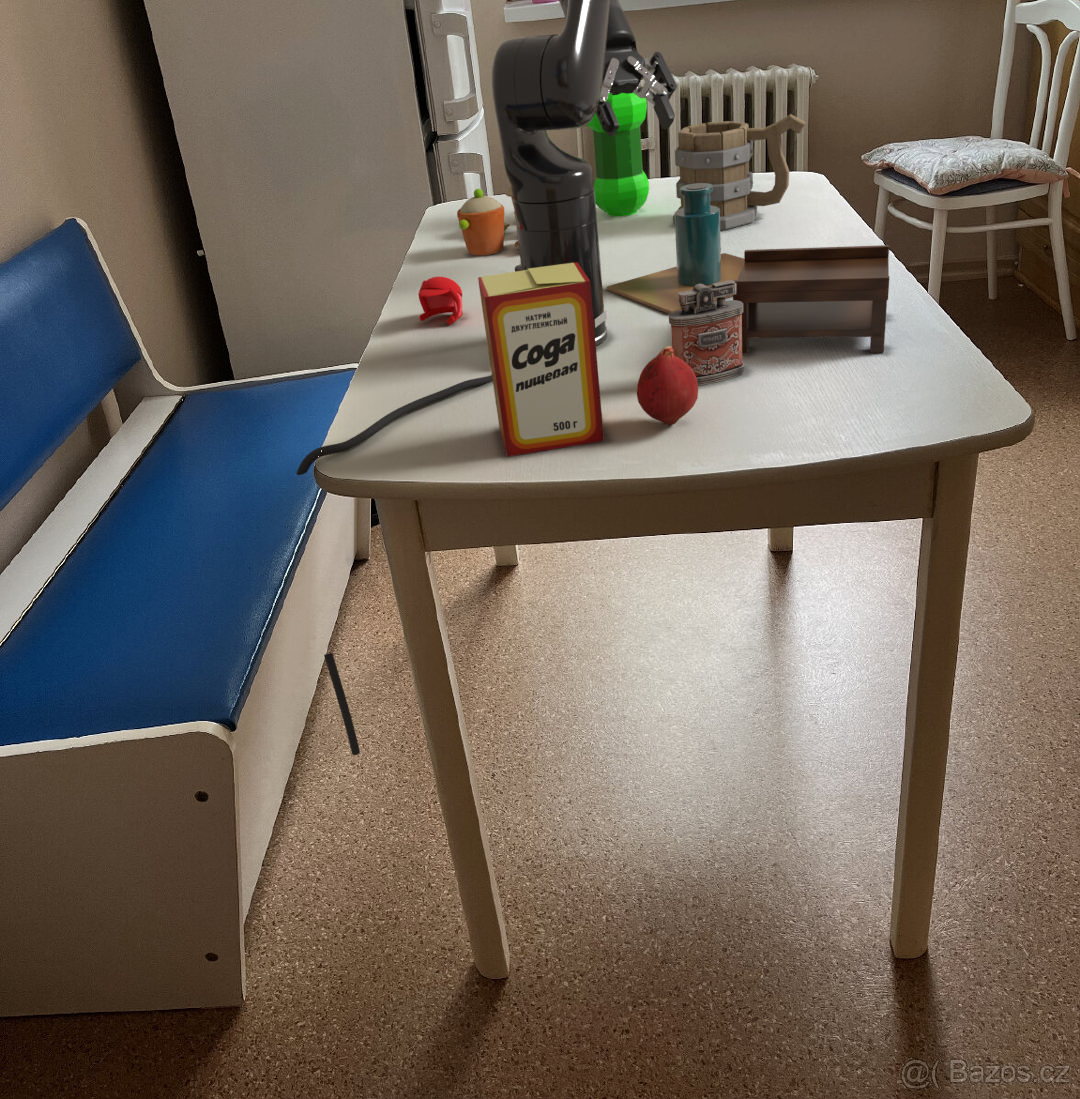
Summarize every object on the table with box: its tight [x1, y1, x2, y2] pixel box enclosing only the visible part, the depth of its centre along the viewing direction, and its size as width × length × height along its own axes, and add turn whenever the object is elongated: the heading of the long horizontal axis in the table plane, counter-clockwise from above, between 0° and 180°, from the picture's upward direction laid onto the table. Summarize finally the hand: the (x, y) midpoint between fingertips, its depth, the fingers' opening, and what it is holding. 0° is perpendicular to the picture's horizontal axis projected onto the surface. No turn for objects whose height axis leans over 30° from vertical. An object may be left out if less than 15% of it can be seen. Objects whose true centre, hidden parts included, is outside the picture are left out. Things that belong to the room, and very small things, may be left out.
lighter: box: [668, 280, 745, 387], centre depth 107 cm, size 8×3×10 cm, turn 106°
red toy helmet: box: [417, 276, 464, 326], centre depth 135 cm, size 8×6×6 cm
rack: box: [732, 244, 890, 354], centre depth 115 cm, size 16×12×8 cm
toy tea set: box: [456, 186, 519, 256], centre depth 168 cm, size 26×16×10 cm, turn 2°
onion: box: [636, 345, 699, 426], centre depth 99 cm, size 6×6×8 cm
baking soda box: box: [477, 262, 605, 458], centre depth 98 cm, size 10×6×16 cm
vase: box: [674, 183, 722, 286], centre depth 135 cm, size 6×6×12 cm
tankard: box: [672, 113, 806, 231], centre depth 160 cm, size 20×13×15 cm, turn 73°
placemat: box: [606, 252, 745, 315], centre depth 138 cm, size 20×15×1 cm
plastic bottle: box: [586, 93, 650, 218], centre depth 169 cm, size 10×10×25 cm
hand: (642, 128), depth 136 cm, fingers open, 8 cm apart
